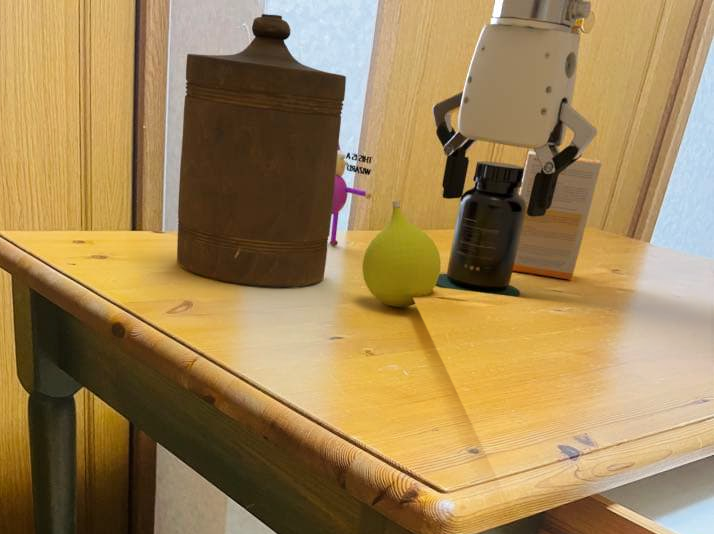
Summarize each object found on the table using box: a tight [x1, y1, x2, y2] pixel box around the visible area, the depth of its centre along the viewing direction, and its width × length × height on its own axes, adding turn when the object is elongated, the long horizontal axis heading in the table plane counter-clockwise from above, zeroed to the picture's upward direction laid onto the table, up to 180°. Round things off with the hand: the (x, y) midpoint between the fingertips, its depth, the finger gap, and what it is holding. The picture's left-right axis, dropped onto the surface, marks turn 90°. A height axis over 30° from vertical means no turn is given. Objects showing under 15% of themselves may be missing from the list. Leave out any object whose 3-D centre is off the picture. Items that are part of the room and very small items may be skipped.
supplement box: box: [512, 150, 602, 281], centre depth 100 cm, size 8×5×13 cm, turn 77°
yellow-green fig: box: [362, 187, 442, 308], centre depth 76 cm, size 7×7×10 cm
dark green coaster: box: [435, 273, 521, 298], centre depth 91 cm, size 10×10×1 cm
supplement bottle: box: [446, 160, 526, 292], centre depth 88 cm, size 7×7×12 cm
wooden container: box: [176, 13, 347, 288], centre depth 80 cm, size 15×15×22 cm
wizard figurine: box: [329, 143, 373, 247], centre depth 99 cm, size 11×3×12 cm, turn 49°
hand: (492, 206), depth 87 cm, fingers open, 9 cm apart
